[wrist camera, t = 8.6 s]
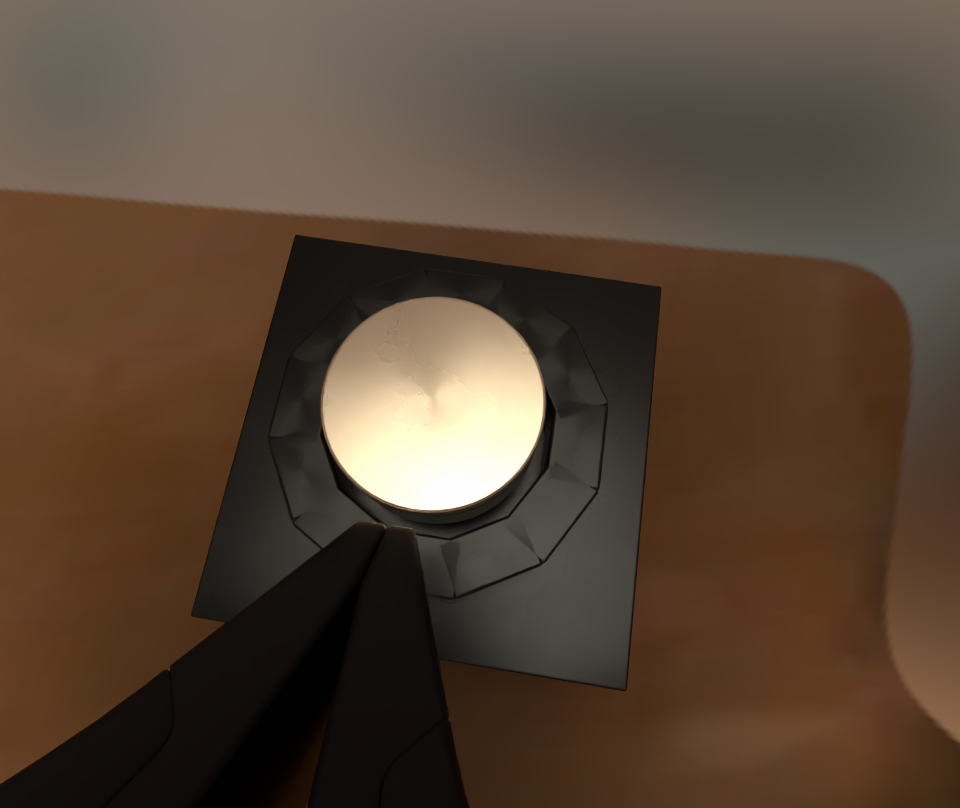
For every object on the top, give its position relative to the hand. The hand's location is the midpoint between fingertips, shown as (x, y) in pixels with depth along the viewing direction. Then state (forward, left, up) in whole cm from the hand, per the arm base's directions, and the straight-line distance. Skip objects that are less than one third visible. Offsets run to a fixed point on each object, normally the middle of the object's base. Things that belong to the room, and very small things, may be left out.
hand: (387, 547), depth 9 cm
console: (+2, +2, -11) cm, 12 cm away
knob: (+2, +2, -4) cm, 5 cm away
